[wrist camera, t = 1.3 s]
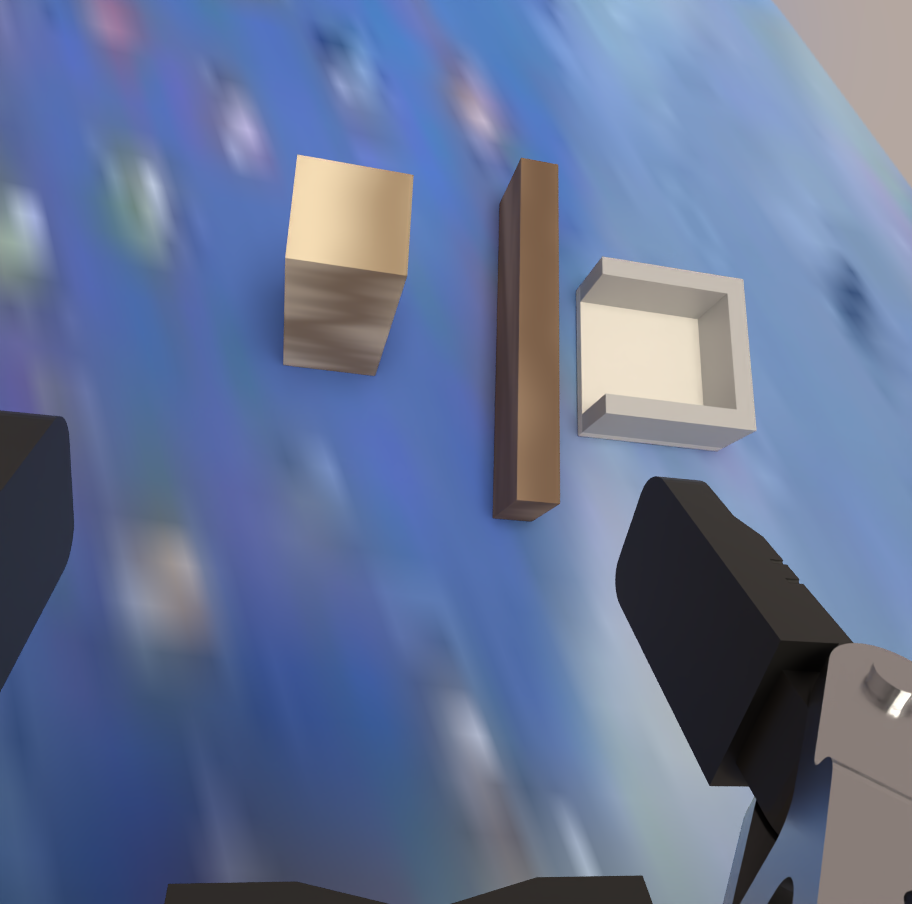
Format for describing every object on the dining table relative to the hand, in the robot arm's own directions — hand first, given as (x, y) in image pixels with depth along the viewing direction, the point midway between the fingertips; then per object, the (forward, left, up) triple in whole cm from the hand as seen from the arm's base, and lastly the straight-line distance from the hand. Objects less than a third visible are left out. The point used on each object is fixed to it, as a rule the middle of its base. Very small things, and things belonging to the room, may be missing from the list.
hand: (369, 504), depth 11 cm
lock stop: (0, +15, -25) cm, 29 cm away
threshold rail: (+10, +15, -25) cm, 30 cm away
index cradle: (+17, +15, -25) cm, 33 cm away
